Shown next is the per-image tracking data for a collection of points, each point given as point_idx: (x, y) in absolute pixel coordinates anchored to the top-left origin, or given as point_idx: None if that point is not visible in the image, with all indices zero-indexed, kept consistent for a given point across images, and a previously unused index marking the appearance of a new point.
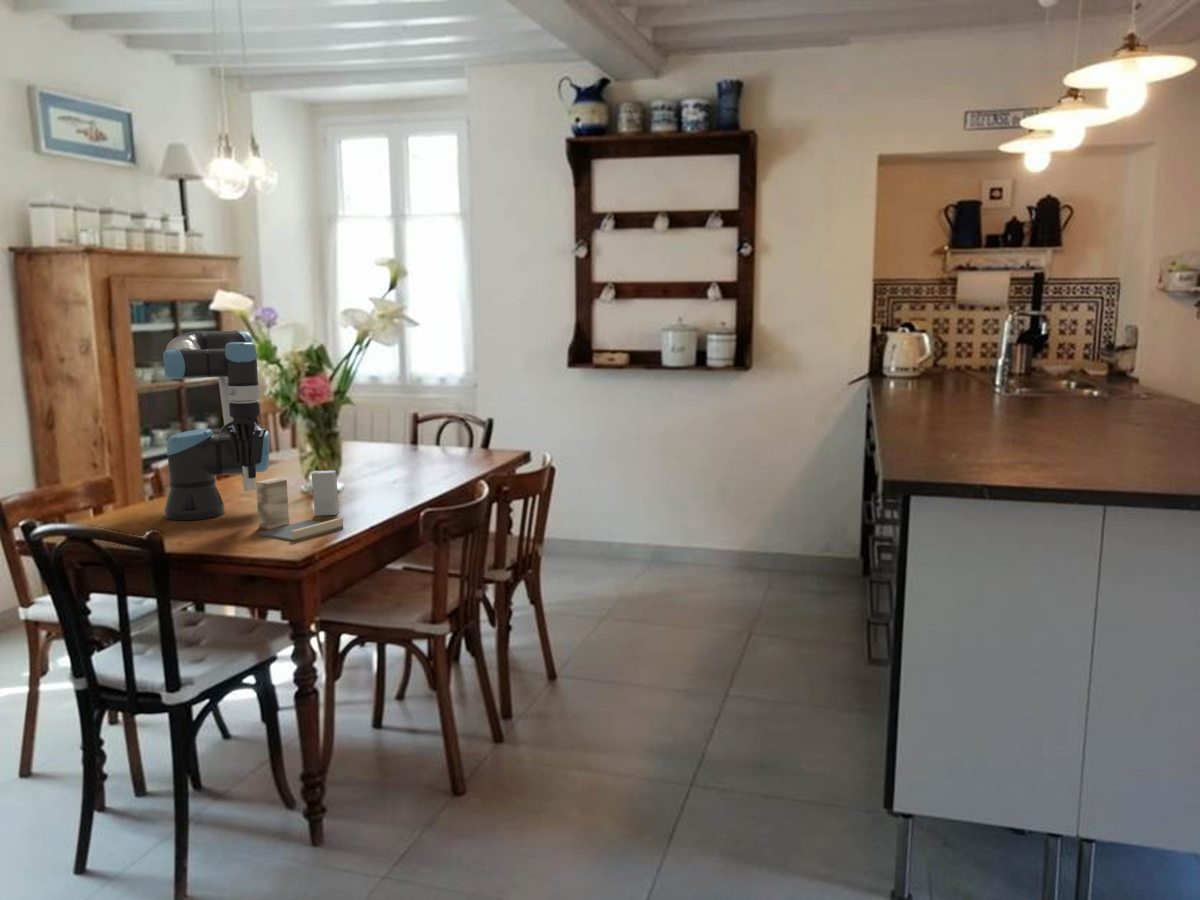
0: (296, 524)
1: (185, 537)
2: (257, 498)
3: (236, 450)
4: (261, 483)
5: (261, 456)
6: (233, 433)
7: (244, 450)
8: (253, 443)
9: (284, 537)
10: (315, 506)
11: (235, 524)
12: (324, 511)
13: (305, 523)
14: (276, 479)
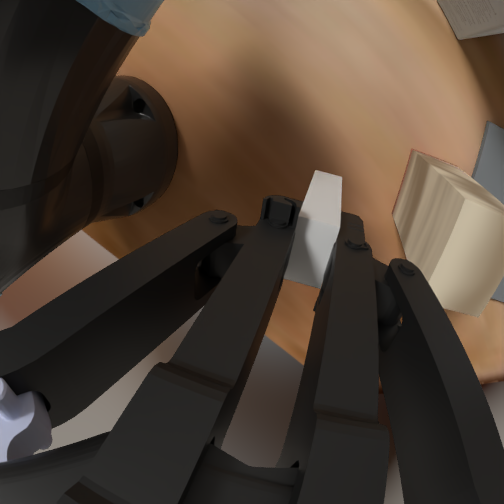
0: (485, 181)
1: (275, 320)
2: (408, 260)
3: (180, 323)
4: (447, 307)
5: (439, 305)
6: (55, 413)
7: (261, 337)
8: (411, 460)
9: (496, 299)
10: (473, 36)
11: (297, 194)
12: (487, 35)
13: (501, 167)
14: (484, 226)
